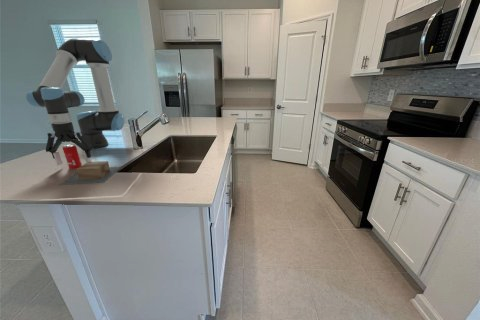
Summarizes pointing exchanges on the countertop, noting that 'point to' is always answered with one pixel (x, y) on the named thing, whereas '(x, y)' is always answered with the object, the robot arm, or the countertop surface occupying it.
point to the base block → (93, 170)
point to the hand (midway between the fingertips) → (74, 164)
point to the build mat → (75, 179)
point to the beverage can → (72, 156)
